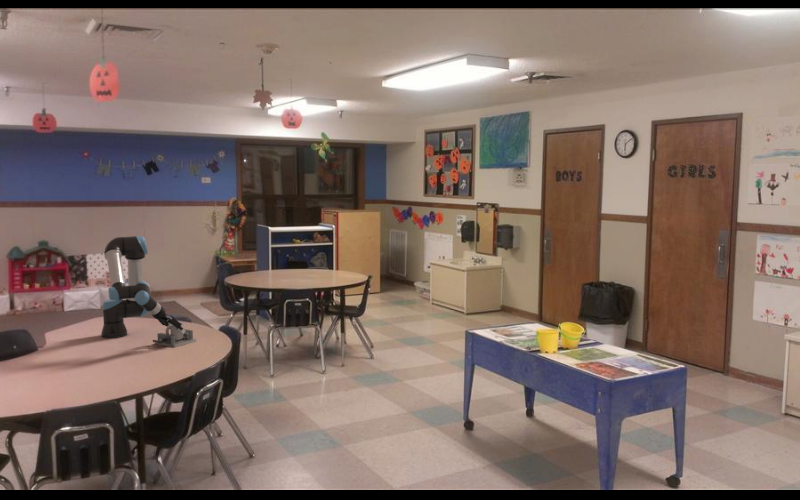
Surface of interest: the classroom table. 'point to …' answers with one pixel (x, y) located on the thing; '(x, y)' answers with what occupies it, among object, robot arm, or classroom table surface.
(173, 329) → the cup
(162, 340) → the vise
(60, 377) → the classroom table surface
